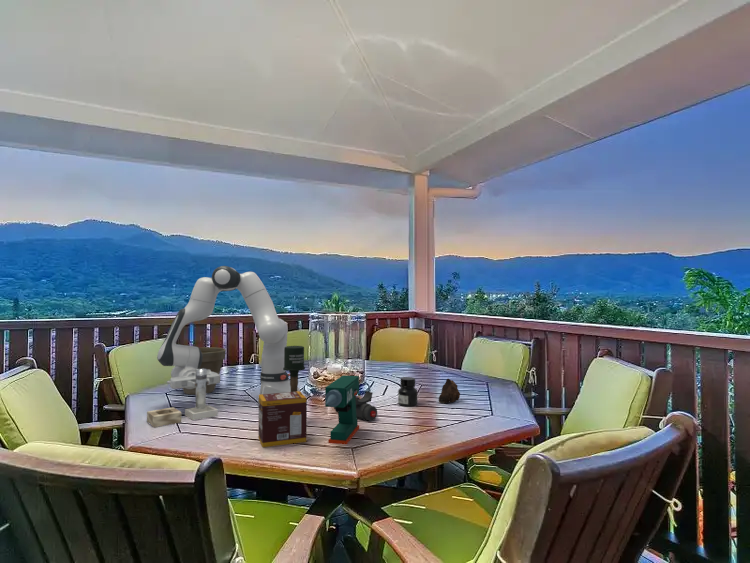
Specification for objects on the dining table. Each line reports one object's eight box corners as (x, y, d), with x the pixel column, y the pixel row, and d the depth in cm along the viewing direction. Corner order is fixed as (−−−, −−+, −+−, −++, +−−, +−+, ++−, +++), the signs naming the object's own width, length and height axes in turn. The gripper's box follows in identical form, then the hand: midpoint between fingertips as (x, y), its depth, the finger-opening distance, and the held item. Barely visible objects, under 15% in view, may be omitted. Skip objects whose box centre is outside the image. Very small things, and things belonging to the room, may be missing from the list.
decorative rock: (452, 398, 215) (452, 376, 215) (462, 401, 211) (462, 378, 211) (436, 402, 207) (436, 379, 207) (446, 405, 203) (446, 381, 203)
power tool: (336, 459, 138) (337, 395, 138) (315, 457, 139) (315, 394, 139) (360, 428, 169) (360, 375, 169) (342, 426, 170) (343, 374, 171)
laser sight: (346, 408, 197) (346, 386, 197) (382, 419, 181) (382, 394, 181) (329, 413, 190) (329, 389, 190) (365, 424, 174) (365, 399, 174)
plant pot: (213, 384, 245) (214, 345, 246) (233, 392, 227) (233, 349, 228) (166, 391, 229) (167, 349, 229) (183, 400, 210) (184, 354, 211)
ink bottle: (395, 402, 207) (395, 377, 207) (412, 401, 210) (412, 375, 210) (402, 407, 198) (402, 381, 198) (420, 406, 201) (420, 379, 201)
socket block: (173, 416, 183) (173, 407, 183) (181, 422, 175) (181, 412, 175) (146, 421, 176) (147, 411, 176) (154, 427, 168) (154, 417, 169)
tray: (208, 411, 192) (208, 405, 192) (217, 415, 184) (217, 409, 184) (184, 415, 185) (184, 409, 185) (193, 420, 177) (193, 414, 178)
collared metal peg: (208, 406, 186) (209, 368, 186) (201, 409, 182) (202, 370, 182) (199, 405, 187) (200, 368, 188) (192, 408, 183) (193, 369, 183)
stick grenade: (286, 426, 170) (287, 348, 171) (280, 420, 178) (280, 346, 178) (307, 423, 174) (307, 347, 175) (300, 417, 182) (301, 345, 182)
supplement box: (257, 438, 157) (258, 394, 157) (300, 433, 163) (300, 390, 163) (261, 447, 147) (262, 401, 148) (306, 442, 153) (307, 397, 154)
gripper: (165, 374, 188) (175, 379, 177) (213, 368, 201) (225, 373, 191) (165, 389, 188) (175, 395, 177) (212, 382, 201) (225, 388, 191)
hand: (201, 383), depth 184 cm, fingers closed on collared metal peg, 4 cm apart
